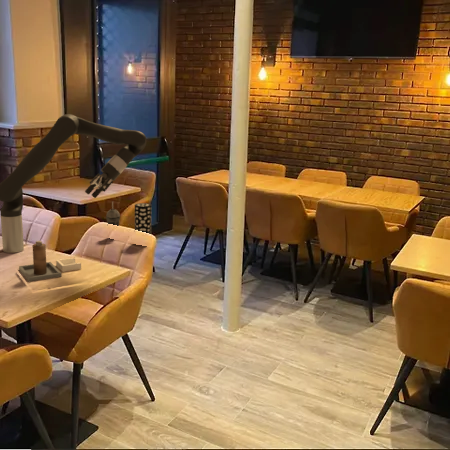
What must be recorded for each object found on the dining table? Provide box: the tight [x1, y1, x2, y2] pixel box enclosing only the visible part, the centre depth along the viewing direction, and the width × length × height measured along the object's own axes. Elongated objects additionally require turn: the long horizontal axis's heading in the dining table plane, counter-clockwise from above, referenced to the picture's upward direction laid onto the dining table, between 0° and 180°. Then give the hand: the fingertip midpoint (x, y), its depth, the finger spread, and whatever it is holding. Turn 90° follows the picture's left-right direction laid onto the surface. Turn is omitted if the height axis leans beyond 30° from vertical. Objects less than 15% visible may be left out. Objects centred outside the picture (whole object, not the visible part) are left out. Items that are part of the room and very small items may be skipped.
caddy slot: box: [55, 257, 82, 273], centre depth 221 cm, size 9×8×4 cm
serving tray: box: [18, 261, 63, 283], centre depth 213 cm, size 16×13×2 cm
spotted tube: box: [134, 202, 152, 235], centre depth 262 cm, size 8×8×20 cm
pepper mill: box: [32, 240, 47, 275], centre depth 211 cm, size 5×5×13 cm
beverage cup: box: [105, 200, 121, 227], centre depth 269 cm, size 7×7×20 cm
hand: (89, 194), depth 225 cm, fingers open, 8 cm apart
